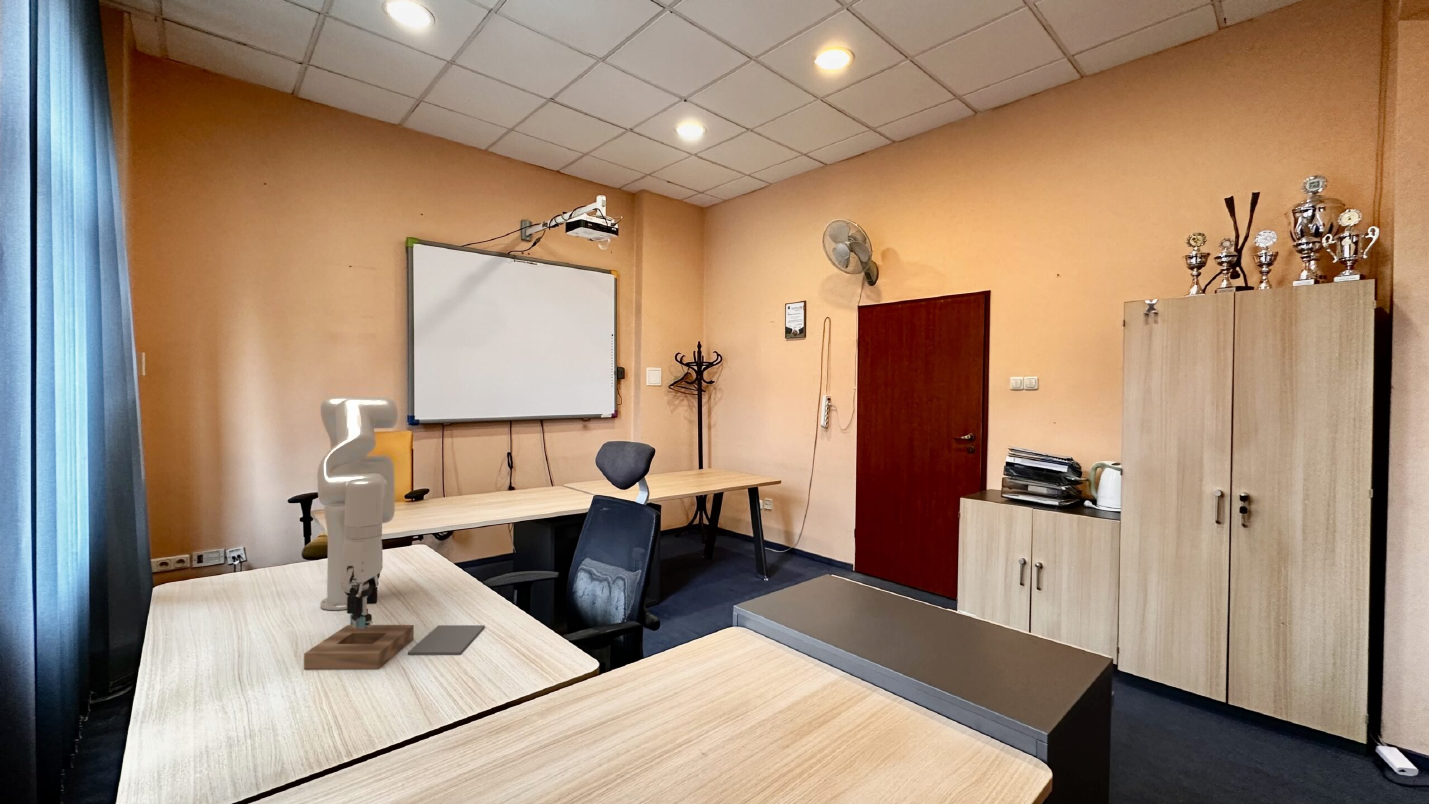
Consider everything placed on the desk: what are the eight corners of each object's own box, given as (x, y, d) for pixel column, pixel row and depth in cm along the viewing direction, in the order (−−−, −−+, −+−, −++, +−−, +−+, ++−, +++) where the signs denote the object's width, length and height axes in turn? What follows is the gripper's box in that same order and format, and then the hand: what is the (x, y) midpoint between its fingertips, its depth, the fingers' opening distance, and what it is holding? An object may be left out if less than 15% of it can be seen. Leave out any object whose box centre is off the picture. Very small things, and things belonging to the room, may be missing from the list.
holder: (347, 638, 142) (347, 624, 142) (413, 638, 142) (413, 624, 142) (303, 669, 126) (304, 653, 126) (378, 669, 126) (378, 653, 126)
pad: (438, 627, 149) (438, 625, 149) (484, 627, 150) (484, 625, 150) (407, 654, 133) (407, 652, 133) (459, 654, 134) (460, 652, 134)
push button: (382, 624, 135) (382, 583, 135) (360, 633, 131) (359, 590, 130) (363, 619, 138) (363, 578, 138) (341, 627, 133) (341, 585, 133)
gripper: (367, 522, 142) (366, 595, 143) (323, 540, 125) (322, 622, 126) (398, 523, 143) (397, 595, 143) (358, 541, 126) (357, 623, 126)
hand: (362, 607), depth 134 cm, fingers closed on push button, 5 cm apart
